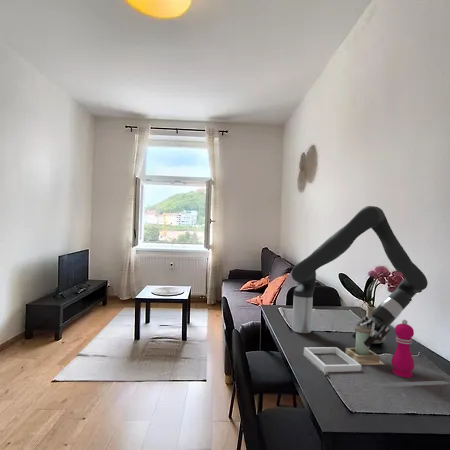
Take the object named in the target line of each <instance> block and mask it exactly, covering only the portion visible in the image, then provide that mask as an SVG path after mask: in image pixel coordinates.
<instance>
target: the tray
mask: <svg viewBox="0 0 450 450" xmlns="http://www.w3.org/2000/svg"><path fill="white" fill-rule="evenodd" d="M315 354H335V355H337V356H338V357H340V358H341V359H342V360H344V361H345V362H346V363H347V364H326V363H325V362H323V360H321V359H320V358H319V357H318V356H317V355H315ZM303 356H304V357H305V358H306V359H307V360H308V361H309V362H310V363H311V364H312V365H313V366H314V367H315V368H316V369H318V371H320V373H321V374H323V375H324V376H329V375H330V373H336V372H337V373H338V372H340V373H341V372H342V373H343V372H361V371H362V365H360V364H359V363H358V362H356V361H355V360H354V359H352V358H351V357H349V356H348V355H347V354H345V351H343V350H342V349H340V348H338V347H337V346H327V347H326V346H322V347H321V346H319V347H315V346H314V347H310V346H309V347H303Z"/></svg>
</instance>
